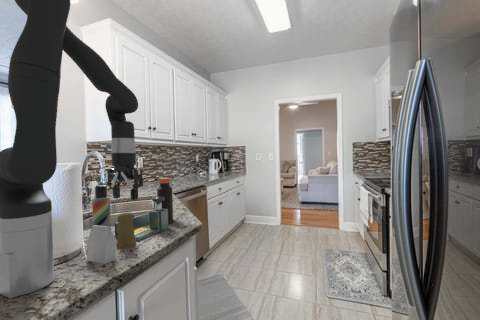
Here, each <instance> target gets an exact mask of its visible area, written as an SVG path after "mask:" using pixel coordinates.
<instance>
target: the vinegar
mask: <svg viewBox="0 0 480 320" xmlns="http://www.w3.org/2000/svg"><path fill="white" fill-rule="evenodd" d="M158 184H159V186H158V187H157V189H156V190H157V191H156V193H157V196H156V197H164V201H161V202H162V208H163V209H168V223H169V221H170V222H172V221H173V220H174V211H173V210H174V209H173V208H174V206H173V203H174V201H173V188H172V186H171V185H170V184H171V178H170V177H159V178H158Z"/></svg>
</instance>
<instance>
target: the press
mask: <svg viewBox="0 0 480 320" xmlns="http://www.w3.org/2000/svg"><path fill="white" fill-rule="evenodd" d="M133 228H134V234H135V239H136V242H139V241H141V240H143V239H146V238H148V237H151V236H152V235H153V236H154V235H155V234H157V233H160V232H163V230H164V231H165V230H168V229H169V228H170V225H169V222H168V209H163V208H162V211H156V208H154V209H150V210H148V212H147V213H144V214H139V215H136V216H134V220H133ZM118 230H119V223H118V221H117V222H114V237H115V238H118Z"/></svg>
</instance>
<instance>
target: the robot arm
mask: <svg viewBox="0 0 480 320" xmlns="http://www.w3.org/2000/svg"><path fill="white" fill-rule="evenodd" d="M14 2H15V3H16V5H17V6H18V7H19V8H20V9H21V11H22V12H23V13H24V14H25V15H26V16H27V17H26V22H25V24H24V28H23V29H22V32H21V33H20V35H19V38H18V39H17V41H16V43H15V45H14V48H13V50H12V54H11V55H10V56H11V57H10V60H9V66H8V77H7V88H8V89H7V90H8V95H9V98H10V100H11V101H10V103H11V105H12V108H13V111H14V115H15V123H16V124H15V134H14V139H13V143H12V146H11V147H7V148H5V149H2V150H0V295H1V296H3V297H6V298H8V299H10V300H11V299H13V298H17V297H19V296H24V295H27V294H31V293H34V292H36V291H38V290H42V289H44V288H45V287H47V286H48V285H50V284H51V283H52V282H53V281H54V280H55V266H54V265H55V263H54V261H55V259H54V239H53V236H54V235H53V207H52V206H53V205H52V199H50V198H49V196H48V195H47V194H46V192H45V189H44V184H46V183H47V182H49V180H50V179H52V178H53V176H54V174H55V172H56V170H57V164H58V163H57V162H58V161H57V160H58V157H57V133H56V131H57V130H56V127H57V119H58V118H57V117H58V103H59V95H60V90H61V89H60V88H61V87H60V86H61V77H62V73H61V72H62V71H61V70H62V60H63V52H64V53H65V54H66V55H67V56H68V57H69V58H70V59H71V61H73V62H74V64H76V66H77V67H78V68H79V69H80V70H81V72H82V73H83V75H85V77H86V78H87V79H88V81H90V83H91V84H92V85H93V86H94V88H95V89H96V90H97V91H99V92H102V93H106V94H108V96H107V98H106V100H105V111H106V113H107V118H108V121H109V123H110V127H111V128H110V132H111V141H110V142H111V143H110V152H111V166H112V167H114V168H108V169H107V187H108V186H109V187H111V188H112V198H113V199H119V198H121V187H120V186H121V184H122V183H124V182H125V183H126V184H127V185H129V187H130V201H135V200H138V199H139V188H140V187H143V186H144V182H143V181H144V179H143V170H142V168H135V166H137V149H136V148H137V147H136V146H137V145H136V140H135V126H134V125H135V124H134V123H133V122H132V121H130V120H127V117H126V115H127V114H128V115H129V114H132V113H135V112H136V111H137V110H138V108H139V102H138V101H139V100H138V98H137V96H136V95H135V93H134V92H133V91H132V90H131V89H130V88H129V87H128V86H127V85H125V83H123V81H121V80H120V79H118V77H117V76H116V75H115V74H114V72H113V71H112V69H111V68H110V66H109V65H108V64H107V62H106V61H105V60H104V58H102V57H101V55H100V54H98V52H97V51H95V50H94V49H93V48H92V47H91V46H89V45H88V44H86V43H85V42H84V41H83V40H81V39H80V38H79V37H78V36H77V35H75V34H74V33H73V32H72V30H71V29H70V28H69V27H68V25H67V23H68V19H69V15H70V12H71V0H14Z"/></svg>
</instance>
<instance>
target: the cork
mask: <svg viewBox="0 0 480 320" xmlns="http://www.w3.org/2000/svg"><path fill="white" fill-rule="evenodd" d="M134 217H135V215H134V213H133V212H127V211H126V212H122V213H119V214H118V215H117V219H116V221H117V222H118V223H119V230H118V237H117V240H116V248H118V249H126V248H127V249H128V248H131V247H133V246H136V244H137V241H136V239H135V234H134V228H133V220H134Z"/></svg>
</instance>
